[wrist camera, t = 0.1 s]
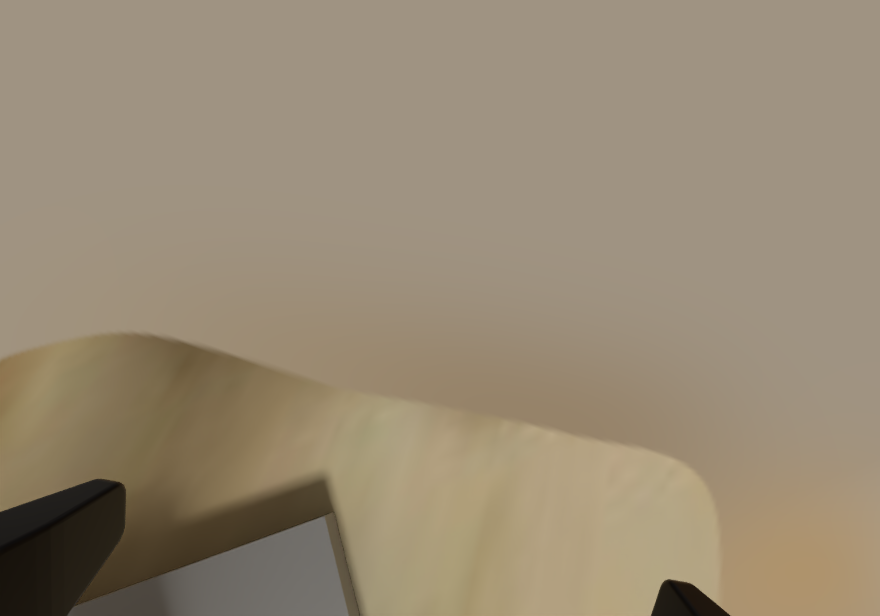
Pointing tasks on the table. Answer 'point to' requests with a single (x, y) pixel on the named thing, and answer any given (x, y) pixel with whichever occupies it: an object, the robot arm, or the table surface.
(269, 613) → the jig plate
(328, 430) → the table surface
